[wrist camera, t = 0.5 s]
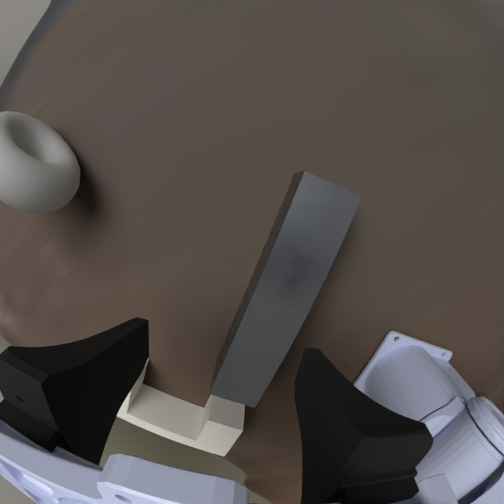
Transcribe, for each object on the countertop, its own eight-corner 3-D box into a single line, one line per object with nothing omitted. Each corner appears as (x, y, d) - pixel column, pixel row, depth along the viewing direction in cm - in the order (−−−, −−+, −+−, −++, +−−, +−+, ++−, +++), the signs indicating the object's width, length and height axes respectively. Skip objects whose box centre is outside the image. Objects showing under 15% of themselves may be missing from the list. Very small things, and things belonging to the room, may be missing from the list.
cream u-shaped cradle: (245, 395, 24) (243, 430, 20) (228, 423, 25) (224, 456, 21) (120, 345, 23) (98, 372, 19) (114, 377, 24) (96, 405, 20)
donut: (109, 181, 20) (18, 190, 10) (86, 213, 20) (-3, 239, 11) (51, 111, 18) (-30, 96, 8) (32, 141, 19) (-48, 139, 9)
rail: (338, 193, 20) (361, 197, 15) (256, 368, 23) (254, 407, 19) (294, 173, 19) (304, 171, 15) (218, 355, 23) (209, 393, 18)
